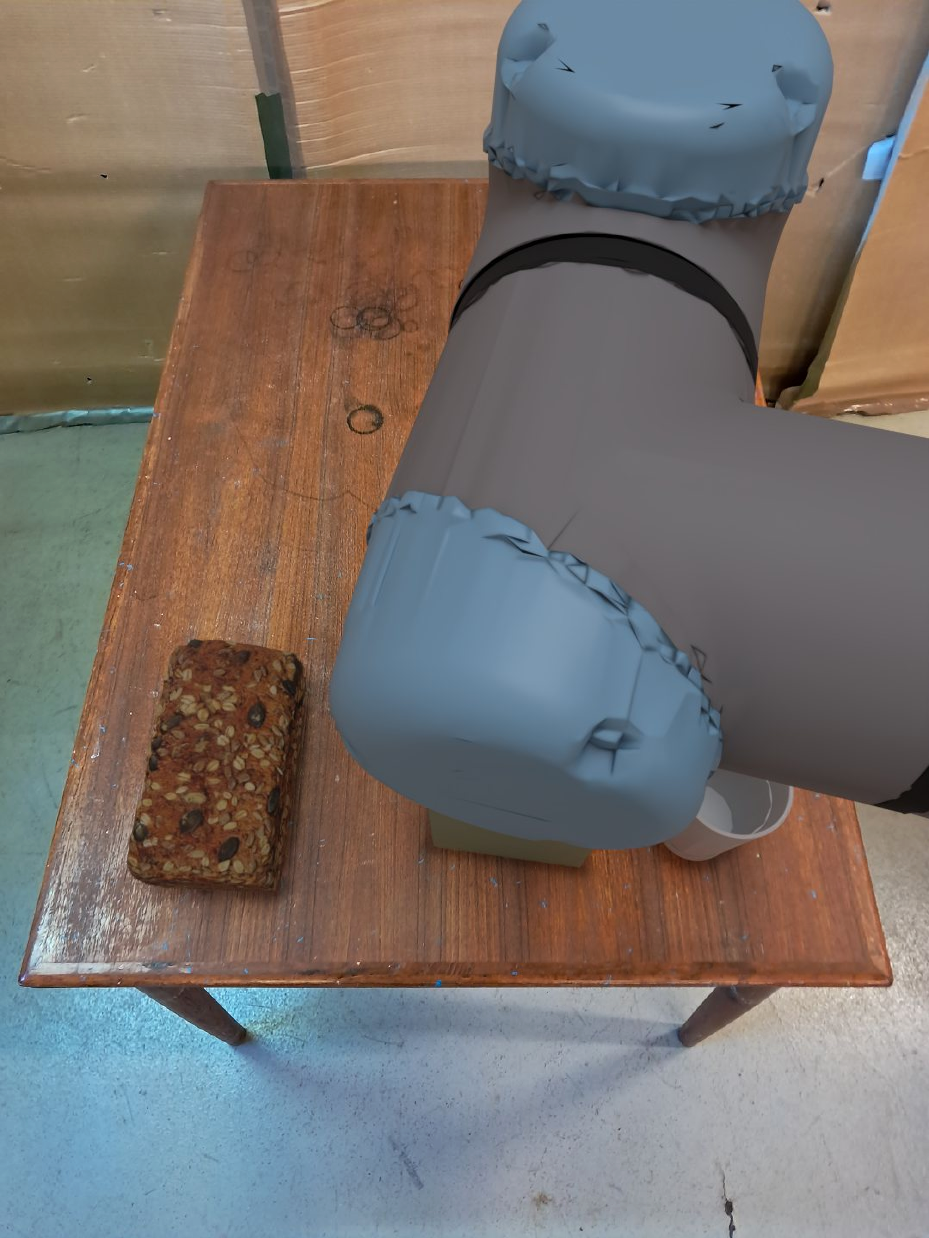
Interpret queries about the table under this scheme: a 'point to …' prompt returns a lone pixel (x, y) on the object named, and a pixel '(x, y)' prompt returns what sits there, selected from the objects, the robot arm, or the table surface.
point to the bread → (220, 769)
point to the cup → (732, 815)
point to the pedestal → (501, 843)
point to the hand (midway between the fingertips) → (532, 697)
